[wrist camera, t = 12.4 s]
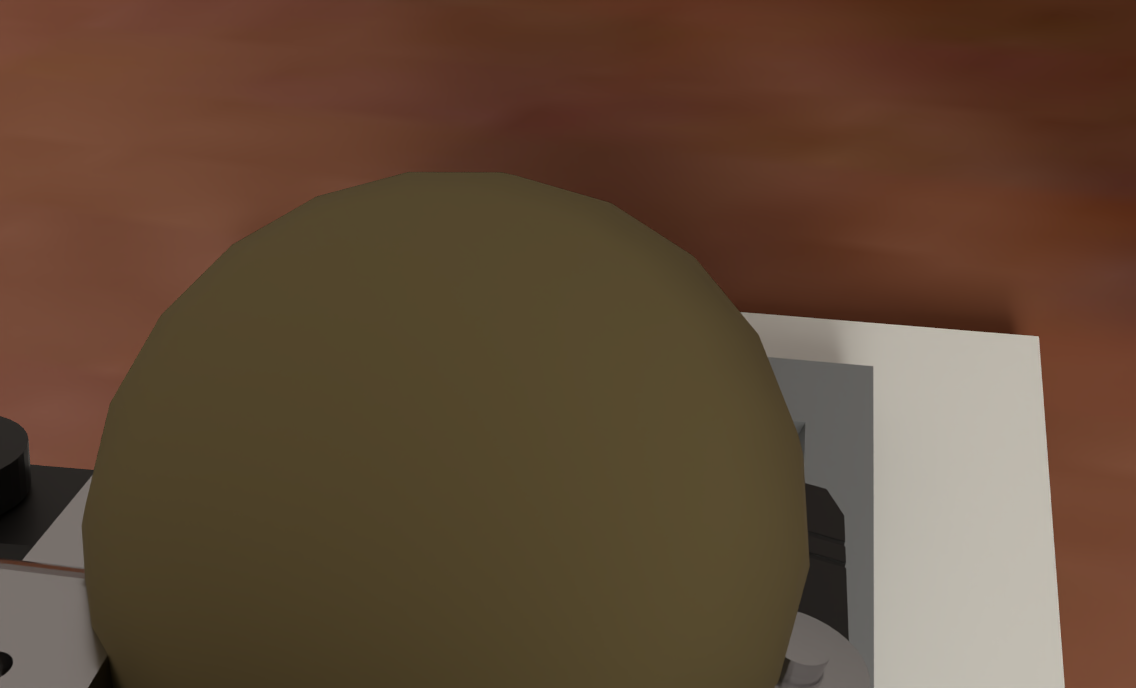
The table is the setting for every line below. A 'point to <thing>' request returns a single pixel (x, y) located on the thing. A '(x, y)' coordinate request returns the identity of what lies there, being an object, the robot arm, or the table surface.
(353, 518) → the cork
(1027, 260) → the table surface
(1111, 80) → the table surface
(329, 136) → the table surface
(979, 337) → the socket board
